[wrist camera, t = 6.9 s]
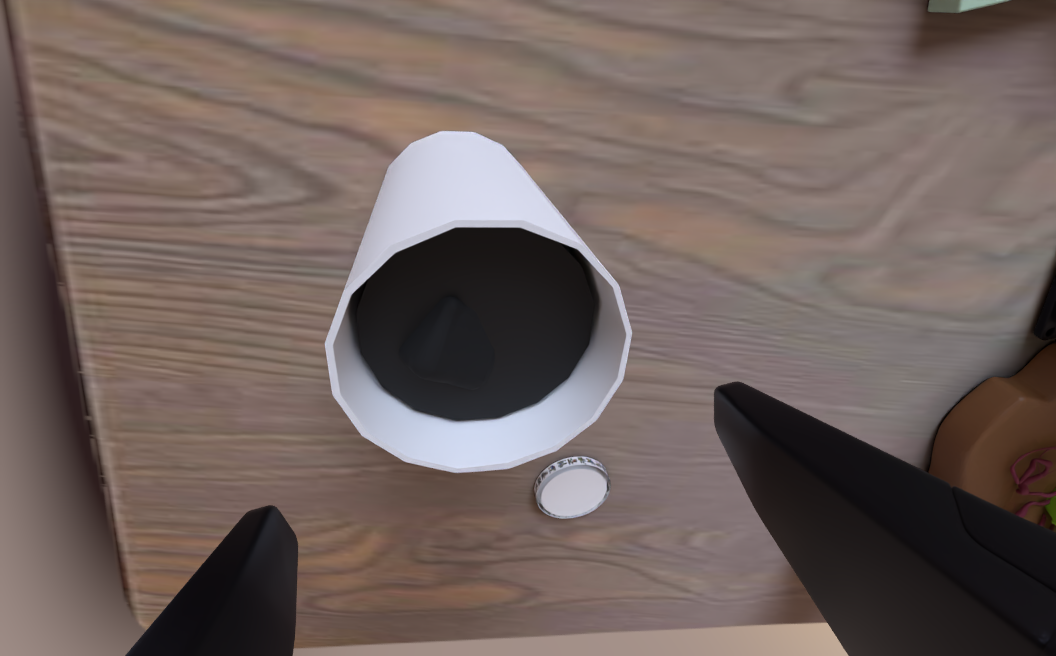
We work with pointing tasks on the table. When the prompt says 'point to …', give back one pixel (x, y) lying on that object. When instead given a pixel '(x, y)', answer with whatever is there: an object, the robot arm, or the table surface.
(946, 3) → the scale
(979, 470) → the plant
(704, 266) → the table surface
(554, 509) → the washi tape
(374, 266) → the white cup
